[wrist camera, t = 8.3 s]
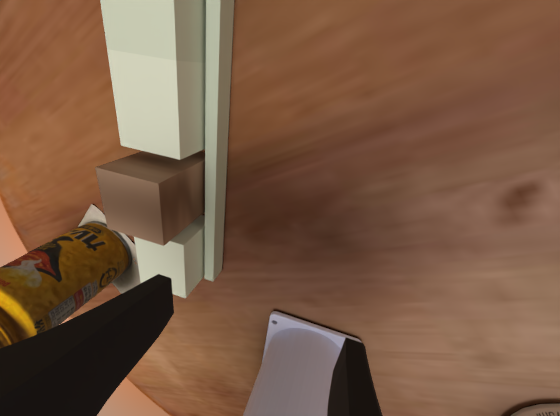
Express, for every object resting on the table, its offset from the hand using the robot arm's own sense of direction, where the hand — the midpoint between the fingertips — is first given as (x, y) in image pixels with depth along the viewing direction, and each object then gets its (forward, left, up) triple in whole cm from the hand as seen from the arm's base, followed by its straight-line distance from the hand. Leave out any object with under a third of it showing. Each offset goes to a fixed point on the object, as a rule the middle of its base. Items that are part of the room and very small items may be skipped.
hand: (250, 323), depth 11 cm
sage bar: (+3, +9, -10) cm, 14 cm away
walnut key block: (+1, +9, -10) cm, 13 cm away
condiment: (-10, +18, -10) cm, 23 cm away
